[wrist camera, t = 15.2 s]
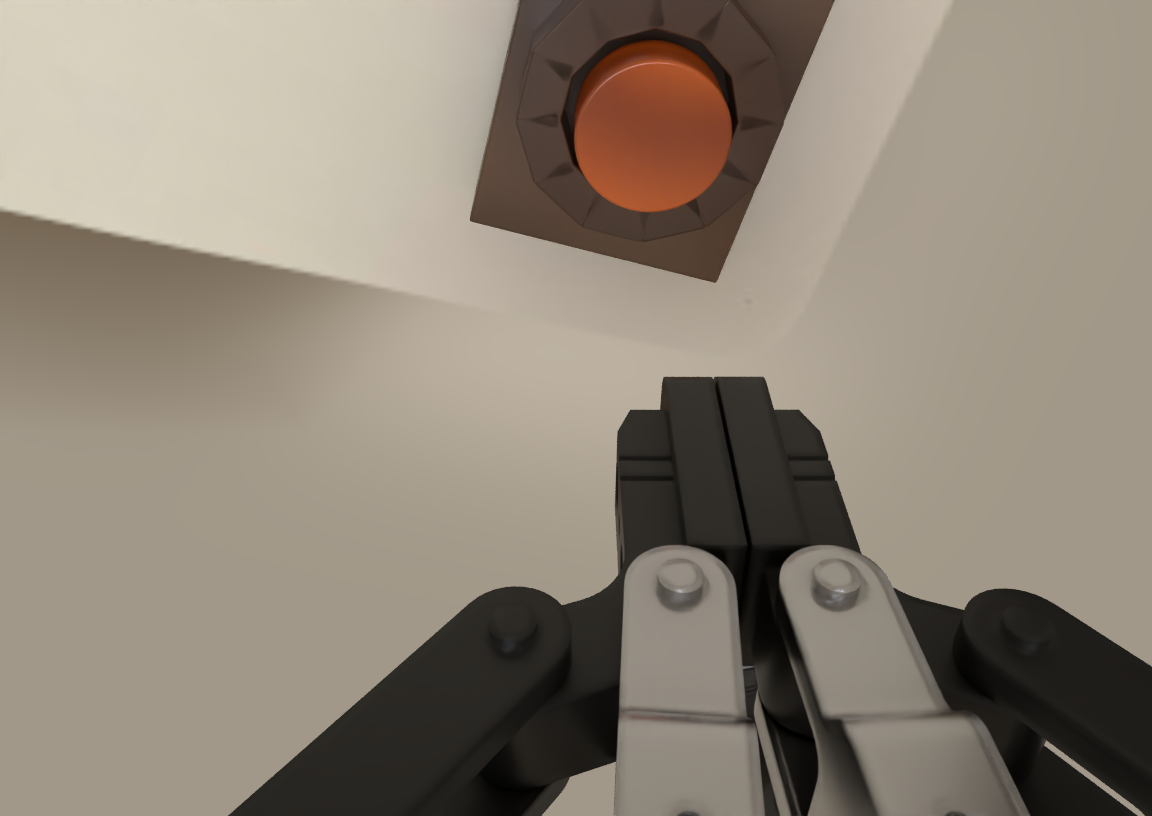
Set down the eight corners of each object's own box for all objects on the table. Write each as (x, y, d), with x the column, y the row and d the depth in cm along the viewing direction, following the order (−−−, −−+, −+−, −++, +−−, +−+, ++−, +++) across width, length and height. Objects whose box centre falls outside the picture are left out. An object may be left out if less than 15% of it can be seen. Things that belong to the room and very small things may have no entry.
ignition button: (693, 202, 26) (700, 229, 25) (557, 165, 26) (556, 192, 24) (746, 63, 24) (757, 85, 23) (598, 19, 24) (599, 39, 22)
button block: (708, 251, 31) (723, 313, 28) (475, 192, 30) (463, 249, 27) (836, -65, 26) (873, -32, 22) (554, -155, 24) (551, -135, 21)
